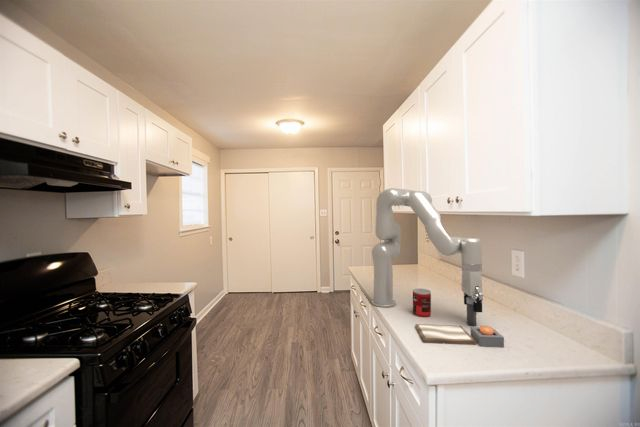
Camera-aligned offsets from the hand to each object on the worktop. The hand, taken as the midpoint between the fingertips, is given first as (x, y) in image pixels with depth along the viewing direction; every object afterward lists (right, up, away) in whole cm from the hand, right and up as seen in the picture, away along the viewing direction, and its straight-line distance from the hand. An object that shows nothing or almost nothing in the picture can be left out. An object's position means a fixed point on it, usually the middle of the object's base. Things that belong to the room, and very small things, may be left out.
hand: (472, 308), depth 120 cm
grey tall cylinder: (0, -7, 0) cm, 7 cm away
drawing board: (-17, -7, -10) cm, 21 cm away
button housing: (-3, -7, -15) cm, 17 cm away
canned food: (-17, -7, +13) cm, 22 cm away
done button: (-3, -5, -15) cm, 17 cm away
